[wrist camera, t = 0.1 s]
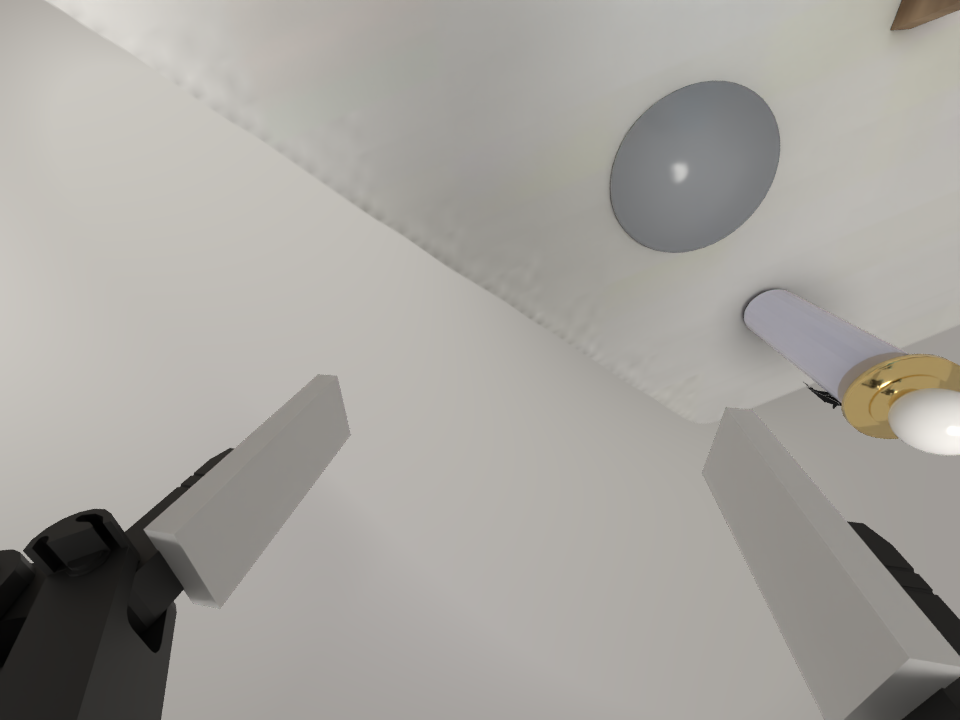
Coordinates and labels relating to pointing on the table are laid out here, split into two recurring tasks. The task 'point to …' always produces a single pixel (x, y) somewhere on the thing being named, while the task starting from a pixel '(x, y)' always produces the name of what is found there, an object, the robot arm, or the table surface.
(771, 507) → the robot arm
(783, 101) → the table surface
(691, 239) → the grey saucer
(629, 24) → the table surface
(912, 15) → the three-sided wooden frame
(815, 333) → the perfume bottle
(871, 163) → the table surface
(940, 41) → the table surface
